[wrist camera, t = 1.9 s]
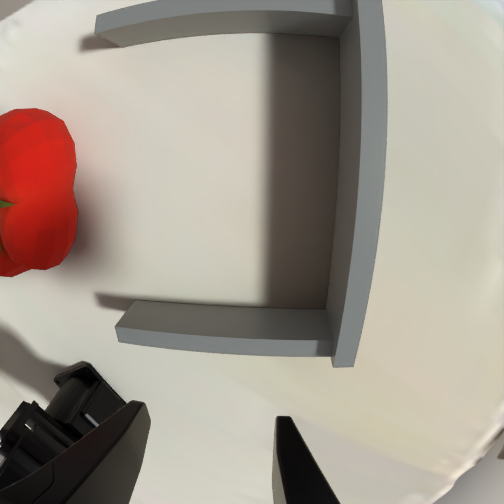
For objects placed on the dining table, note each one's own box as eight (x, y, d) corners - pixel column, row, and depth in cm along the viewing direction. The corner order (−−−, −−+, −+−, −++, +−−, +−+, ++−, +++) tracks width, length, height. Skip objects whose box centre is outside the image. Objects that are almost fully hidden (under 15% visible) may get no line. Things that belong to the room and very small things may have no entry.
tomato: (98, 102, 16) (31, 95, 10) (99, 263, 20) (46, 308, 14) (3, 117, 17) (-58, 123, 11) (10, 248, 21) (-42, 279, 14)
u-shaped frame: (138, 314, 21) (112, 351, 17) (123, 31, 15) (87, 10, 10) (340, 324, 20) (353, 367, 16) (358, 23, 14) (381, -6, 10)
